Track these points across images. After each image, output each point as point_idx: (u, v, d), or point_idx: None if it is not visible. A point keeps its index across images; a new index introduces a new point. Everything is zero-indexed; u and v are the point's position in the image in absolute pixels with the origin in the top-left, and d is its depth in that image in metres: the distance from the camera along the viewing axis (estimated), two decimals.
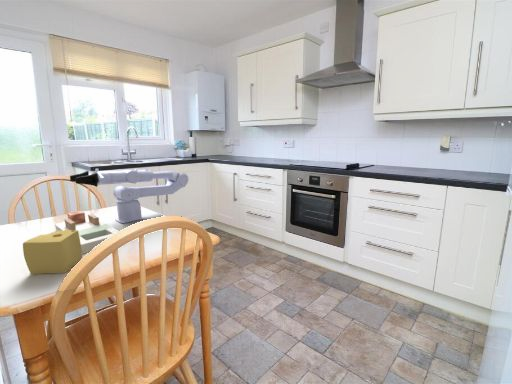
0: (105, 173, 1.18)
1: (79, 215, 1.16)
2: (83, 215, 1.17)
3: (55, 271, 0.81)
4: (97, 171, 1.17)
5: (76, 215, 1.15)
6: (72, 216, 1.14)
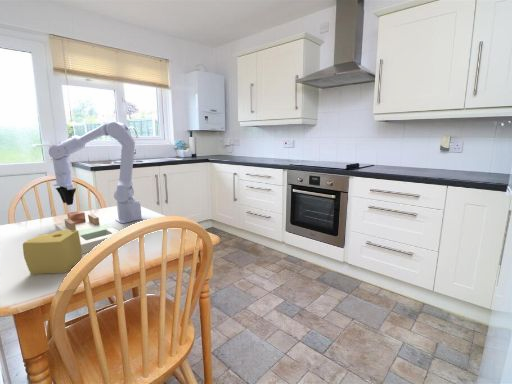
0: (59, 178, 1.18)
1: (79, 215, 1.16)
2: (83, 215, 1.17)
3: (55, 271, 0.81)
4: (57, 185, 1.19)
5: (76, 215, 1.15)
6: (72, 216, 1.14)
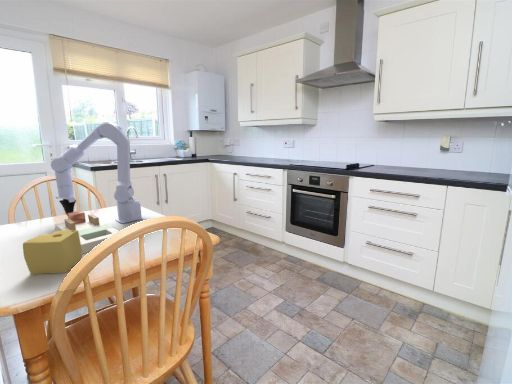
0: (61, 191, 1.19)
1: (79, 215, 1.16)
2: (83, 215, 1.17)
3: (55, 271, 0.81)
4: (59, 197, 1.20)
5: (76, 215, 1.15)
6: (72, 216, 1.14)
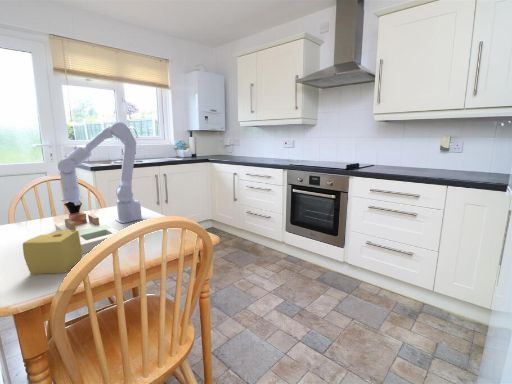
0: (66, 193, 1.14)
1: (80, 216, 1.15)
2: (84, 216, 1.16)
3: (55, 271, 0.81)
4: (64, 200, 1.15)
5: (77, 216, 1.14)
6: (73, 217, 1.13)
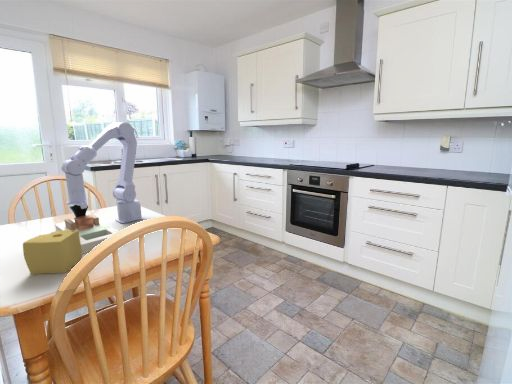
0: (72, 196, 1.09)
1: (87, 220, 1.10)
2: (91, 220, 1.11)
3: (55, 271, 0.81)
4: (70, 203, 1.09)
5: (83, 220, 1.09)
6: (79, 221, 1.08)
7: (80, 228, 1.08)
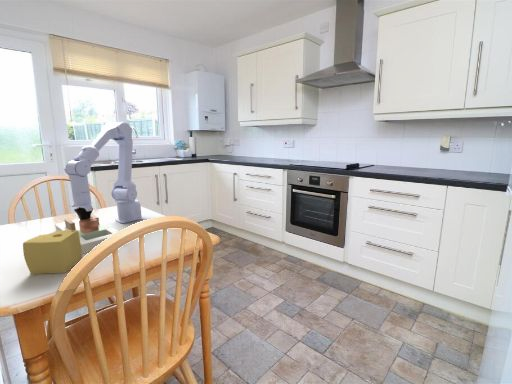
0: (77, 198, 1.05)
1: (92, 223, 1.06)
2: (96, 223, 1.07)
3: (55, 271, 0.81)
4: (75, 206, 1.06)
5: (88, 223, 1.05)
6: (84, 224, 1.04)
7: (85, 231, 1.05)
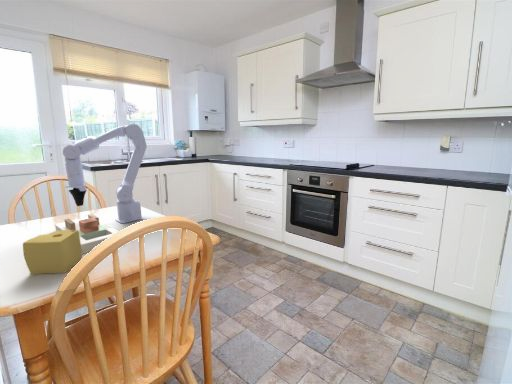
0: (71, 180, 1.15)
1: (92, 223, 1.06)
2: (96, 223, 1.07)
3: (55, 271, 0.81)
4: (69, 186, 1.15)
5: (88, 223, 1.05)
6: (84, 224, 1.04)
7: (85, 231, 1.05)
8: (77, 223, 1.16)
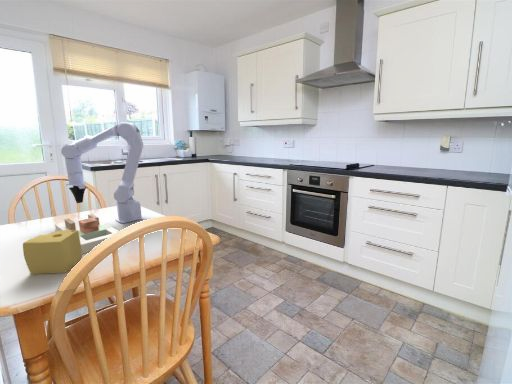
0: (71, 178, 1.20)
1: (92, 223, 1.06)
2: (96, 223, 1.07)
3: (55, 271, 0.81)
4: (69, 184, 1.20)
5: (88, 223, 1.05)
6: (84, 224, 1.04)
7: (85, 231, 1.05)
8: (77, 223, 1.16)
